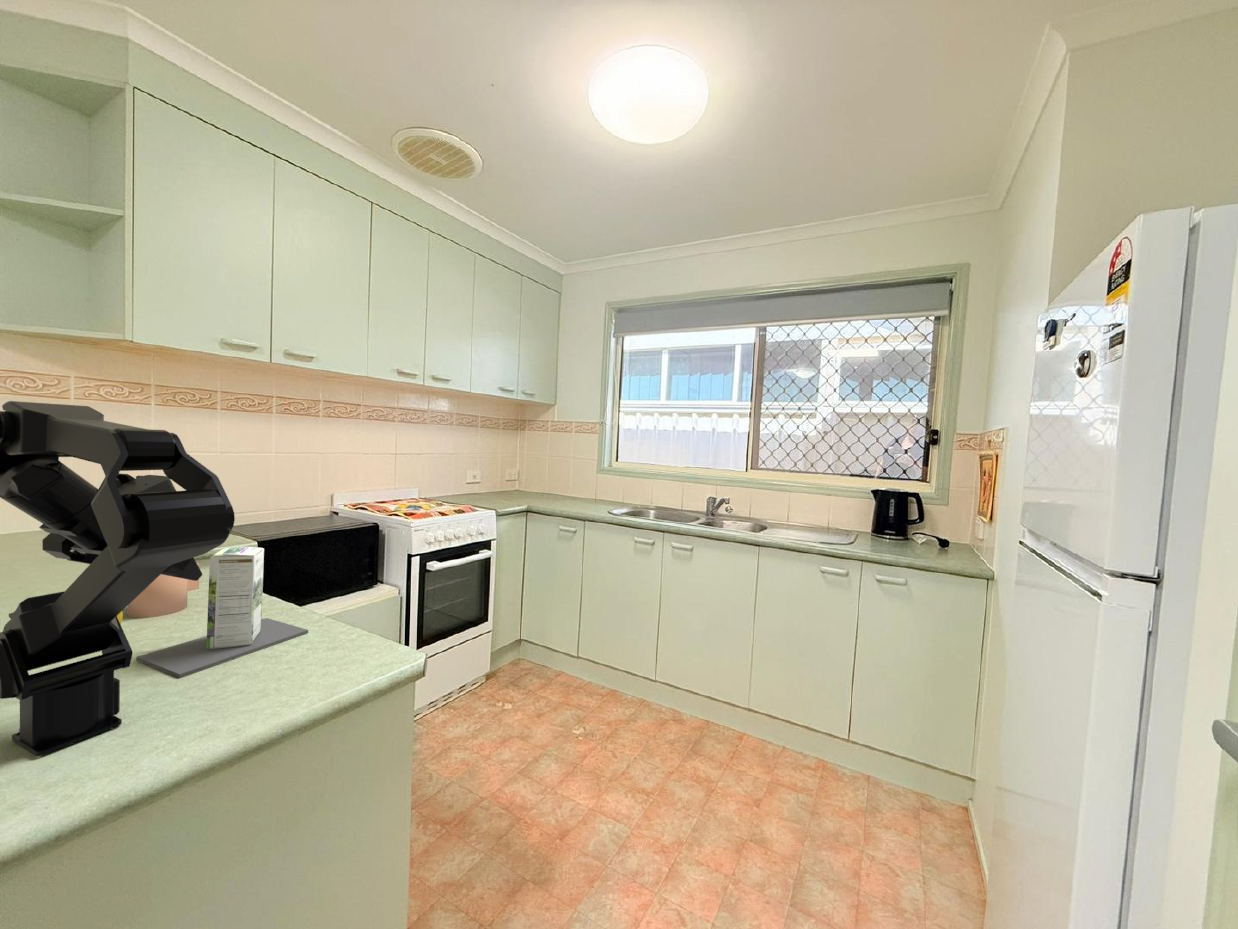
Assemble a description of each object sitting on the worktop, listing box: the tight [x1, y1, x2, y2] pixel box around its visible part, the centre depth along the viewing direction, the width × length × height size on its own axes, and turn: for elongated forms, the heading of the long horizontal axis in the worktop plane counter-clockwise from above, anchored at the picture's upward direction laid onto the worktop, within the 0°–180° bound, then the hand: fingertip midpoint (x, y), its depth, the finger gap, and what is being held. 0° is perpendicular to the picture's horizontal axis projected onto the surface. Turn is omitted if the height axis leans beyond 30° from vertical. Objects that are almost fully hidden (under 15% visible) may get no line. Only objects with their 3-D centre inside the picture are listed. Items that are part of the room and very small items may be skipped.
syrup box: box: [206, 546, 265, 649], centre depth 77 cm, size 6×6×14 cm
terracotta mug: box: [126, 562, 200, 619], centre depth 90 cm, size 10×8×9 cm
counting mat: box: [135, 617, 309, 679], centre depth 76 cm, size 18×11×1 cm, turn 158°
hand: (173, 573), depth 68 cm, fingers open, 9 cm apart
